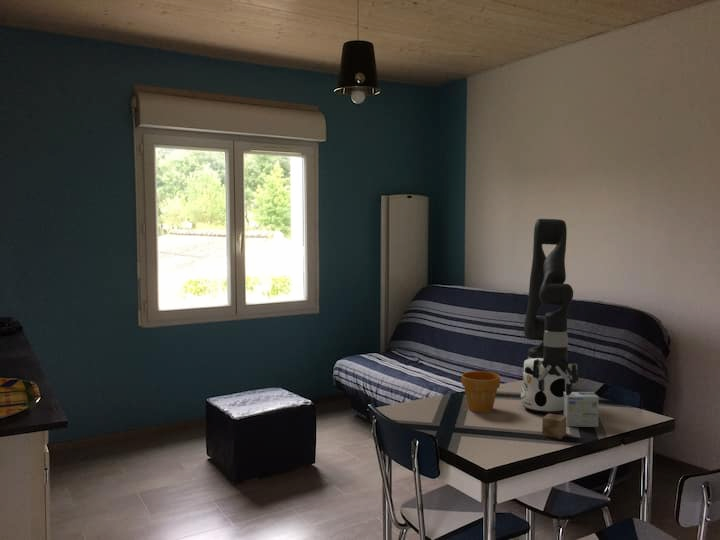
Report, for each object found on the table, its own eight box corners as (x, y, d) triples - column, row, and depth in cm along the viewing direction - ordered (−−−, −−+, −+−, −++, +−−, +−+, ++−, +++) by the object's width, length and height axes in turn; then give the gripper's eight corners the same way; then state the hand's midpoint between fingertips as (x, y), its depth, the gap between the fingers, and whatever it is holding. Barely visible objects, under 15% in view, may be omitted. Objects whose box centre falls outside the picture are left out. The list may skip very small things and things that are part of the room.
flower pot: (507, 410, 229) (508, 376, 229) (481, 417, 221) (481, 382, 221) (480, 401, 241) (480, 369, 240) (453, 408, 233) (453, 374, 232)
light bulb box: (593, 421, 216) (594, 391, 215) (599, 427, 209) (599, 396, 208) (562, 420, 217) (562, 390, 216) (566, 426, 210) (567, 396, 209)
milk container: (511, 405, 236) (512, 359, 234) (549, 401, 241) (550, 356, 240) (538, 418, 219) (539, 369, 218) (578, 413, 225) (579, 365, 224)
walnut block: (542, 435, 202) (542, 418, 201) (548, 430, 206) (548, 413, 206) (560, 439, 198) (560, 421, 198) (566, 434, 203) (566, 416, 203)
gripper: (530, 343, 201) (529, 392, 202) (574, 348, 193) (573, 398, 194) (538, 340, 207) (537, 387, 208) (581, 344, 199) (580, 393, 200)
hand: (555, 393), depth 201 cm, fingers open, 8 cm apart
